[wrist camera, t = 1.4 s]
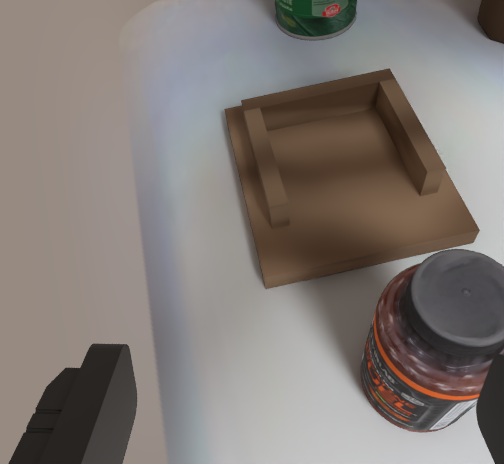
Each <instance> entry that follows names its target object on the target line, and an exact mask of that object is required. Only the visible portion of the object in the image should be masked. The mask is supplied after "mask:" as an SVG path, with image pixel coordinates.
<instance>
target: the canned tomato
mask: <svg viewBox="0 0 504 464" xmlns="http://www.w3.org/2000/svg"><path fill="white" fill-rule="evenodd" d="M356 4H357V0H275V6H276V22H277V25H278V26H279V28H280V29H281V30H282V31H283V32H284V33H286V34H288V35H289V36H291V37H294V38H297V39H303V40H323V39H328V38H332V37H335V36H337V35H339V34H341V33H343V32H345V31H346V30H347V29H349V28H350V27H351V26H352V24H353V23H354V21H355V19H356V14H357V13H356Z"/></svg>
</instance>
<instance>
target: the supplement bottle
mask: <svg viewBox="0 0 504 464" xmlns="http://www.w3.org/2000/svg"><path fill="white" fill-rule="evenodd" d="M498 354H504V266H502V265H501V264H500V263H498V262H496V261H495V260H494V259H492V258H490V257H488V256H486V255H484V254H481V253H477V252H474V251H469V250H464V249H452V250H445V251H441V252H438V253H436V254H433V255H431V256H430V257H428V258H427V259H425V260H424V261H423V262H422V263H420V264H417V265H414V266H412V267H409V268H407V269H405V270H404V271H402V272H401V273H399V274H398V275H397V276H396V277H394V278H393V279H392V280H391V281H390V282H389V284H388V285H387V287H386V288H385V290H384V291H383V293H382V295H381V297H380V299H379V301H378V304H377V308H376V311H375V314H374V318H373V321H372V324H371V328H370V332H369V335H368V339H367V342H366V346H365V350H364V353H363V357H362V363H361V380H362V385H363V388H364V391H365V393H366V396H367V398H368V400H369V401H370V403H371V404H372V406H373V407H374V408H375V410H376V411H377V412H378V413H379V414H380V415H381V416H383V417H384V418H385V419H386V420H388V421H389V422H391V423H392V424H394V425H396V426H398V427H400V428H403V429H406V430H408V431H413V432H432V431H437V430H440V429H443V428H445V427H447V426H449V425H451V424H453V423H454V422H456V421H457V420H458V419H459V418H460V417H461V416H463V415H464V414H465V413H466V412H467V411H469V410H470V409H471V408H472V407H473V406H475V405H476V404H477V400H478V397H479V394H480V392H481V389H482V387H483V384H484V381H485V379H486V376H487V373H488V371H489V368H490V365H491V363H492V360H493V358H494V357H495V356H496V355H498Z"/></svg>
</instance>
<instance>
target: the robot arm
mask: <svg viewBox="0 0 504 464" xmlns="http://www.w3.org/2000/svg"><path fill="white" fill-rule="evenodd" d="M136 407H137V390H136V383H135V378H134V372H133V366H132V360H131V354H130V349H129V346H128V345H127V344H92V345H91V347H90V348H89V350H88V352H87V354H86V356H85V359H84V361H83V363H82V366H81V368H65V369H64V370H63V371H62V372H61V373H60V374H59V375H58V376H57V377H56V378H55V379H54V380H53V381H52V382H51V383H50V384H49V385H48V386H47V387H46V389H45V391H44V393H43V395H42V397H41V399H40V401H39V403H38V405H37V407H36V412H35V414H33V415H32V418H31V419H30V422H29V423H28V425H27V430H26V433H24V434H23V436H22V438H21V440H20V442H19V444H18V446H17V448H16V450H15V452H14V454H13V456H12V458H11V460H10V462H9V464H122V463H123V460H124V456H125V452H126V449H127V445H128V441H129V438H130V434H131V430H132V427H133V423H134V419H135V414H136ZM476 413H477V421H478V425H479V428H480V431H481V433H482V435H483V438H484V440H485V442H486V444H487V447H488V449H489V451H490V453H491V456H492V458H493V460H494V462H495V464H504V354H498V355H496V356H495V357H494V358H493V360H492V363H491V365H490V368H489V371H488V373H487V376H486V379H485V381H484V384H483V387H482V389H481V392H480V394H479V397H478V400H477V406H476Z"/></svg>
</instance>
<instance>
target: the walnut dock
mask: <svg viewBox="0 0 504 464" xmlns="http://www.w3.org/2000/svg"><path fill="white" fill-rule="evenodd" d="M241 103H242V106H238V107H233V108H228V109H225V114H226V119H227V124H228V128H229V132H230V137H231V141H232V145H233V150H234V154H235V158H236V163H237V167H238V171H239V175H240V180H241V184H242V188H243V193H244V197H245V201H246V206H247V210H248V214H249V219H250V223H251V227H252V231H253V236H254V240H255V244H256V249H257V253H258V257H259V262H260V266H261V270H262V274H263V279H264V283H265V287H266V289H268V288H272V287H277V286H281V285H286V284H290V283H295V282H299V281H304V280H308V279H313V278H317V277H322V276H326V275H331V274H335V273H340V272H344V271H349V270H353V269H358V268H362V267H367V266H371V265H376V264H380V263H385V262H389V261H394V260H398V259H403V258H407V257H412V256H416V255H421V254H425V253H430V252H434V251H439V250H443V249H448V248H452V247H457V246H461V245H466V244H470V243H473V242H474V240H475V238H476V236H477V234H478V233H479V231H480V230H479V228H478V226H477V224H476V223H475V221H474V219H473V217H472V216H471V214H470V212H469V210H468V209H467V207H466V205H465V203H464V201H463V200H462V198H461V196H460V194H459V193H458V191H457V189H456V187H455V186H454V184H453V182H452V180H451V178H450V177H449V175H448V173H447V171H446V170H445V169H446V167H445V165H444V164H443V162H442V160H441V158H440V157H439V155H438V153H437V151H436V150H435V148H434V146H433V144H432V143H431V141H430V139H429V137H428V135H427V134H426V132H425V130H424V128H423V127H422V125H421V123H420V121H419V120H418V118H417V116H416V114H415V113H414V111H413V109H412V107H411V105H410V104H409V102H408V100H407V98H406V97H405V95H404V93H403V91H402V90H401V88H400V86H399V84H398V83H397V81H396V79H395V77H394V76H393V74H392V72H391V70H390V68H389V69H385V70H380V71H376V72H371V73H366V74H362V75H357V76H352V77H348V78H343V79H338V80H334V81H329V82H325V83H320V84H315V85H311V86H306V87H301V88H297V89H292V90H288V91H283V92H278V93H274V94H269V95H264V96H260V97H255V98H250V99H246V100H241Z"/></svg>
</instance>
